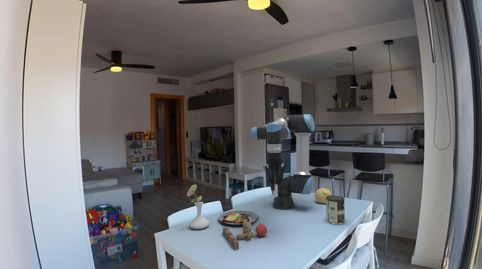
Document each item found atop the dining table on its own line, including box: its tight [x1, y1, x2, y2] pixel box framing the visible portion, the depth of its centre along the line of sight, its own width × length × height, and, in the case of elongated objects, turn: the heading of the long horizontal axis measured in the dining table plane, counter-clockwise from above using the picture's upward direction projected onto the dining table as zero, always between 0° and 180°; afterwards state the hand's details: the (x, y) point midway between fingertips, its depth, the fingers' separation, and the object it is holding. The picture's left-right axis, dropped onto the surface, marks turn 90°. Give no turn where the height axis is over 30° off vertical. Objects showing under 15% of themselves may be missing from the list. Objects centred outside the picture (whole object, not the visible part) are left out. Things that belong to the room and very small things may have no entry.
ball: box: [254, 223, 268, 237], centre depth 131 cm, size 6×6×6 cm
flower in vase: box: [186, 184, 211, 230], centre depth 145 cm, size 13×11×25 cm
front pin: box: [236, 231, 255, 241], centre depth 129 cm, size 2×2×8 cm
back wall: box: [222, 226, 240, 251], centre depth 126 cm, size 20×2×4 cm, turn 20°
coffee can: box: [325, 194, 346, 225], centre depth 149 cm, size 10×10×14 cm
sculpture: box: [314, 187, 333, 205], centre depth 186 cm, size 11×12×11 cm
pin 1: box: [242, 219, 247, 234], centre depth 132 cm, size 2×2×8 cm
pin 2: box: [246, 221, 252, 242], centre depth 127 cm, size 2×2×8 cm
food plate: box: [217, 210, 260, 226], centre depth 155 cm, size 25×23×4 cm
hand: (275, 196), depth 135 cm, fingers closed
